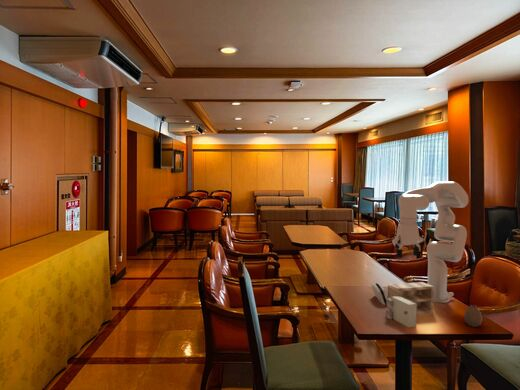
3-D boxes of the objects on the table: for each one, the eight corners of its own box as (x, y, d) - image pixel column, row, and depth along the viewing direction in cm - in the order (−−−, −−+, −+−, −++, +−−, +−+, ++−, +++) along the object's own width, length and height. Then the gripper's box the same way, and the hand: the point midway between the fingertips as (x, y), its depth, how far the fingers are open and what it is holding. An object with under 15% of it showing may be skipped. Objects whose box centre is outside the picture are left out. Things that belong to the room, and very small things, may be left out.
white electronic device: (392, 305, 195) (386, 287, 195) (383, 308, 195) (377, 289, 195) (384, 296, 212) (378, 279, 212) (375, 298, 212) (370, 281, 212)
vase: (481, 329, 165) (482, 309, 164) (463, 325, 168) (464, 306, 168) (482, 324, 170) (482, 305, 170) (464, 321, 174) (465, 302, 174)
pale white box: (398, 317, 178) (399, 296, 177) (415, 326, 166) (416, 303, 166) (389, 318, 176) (390, 296, 176) (406, 327, 165) (407, 304, 164)
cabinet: (421, 307, 193) (422, 282, 192) (437, 315, 182) (438, 288, 181) (376, 311, 185) (376, 284, 185) (390, 319, 174) (391, 291, 174)
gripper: (417, 219, 190) (417, 253, 191) (388, 221, 185) (387, 256, 186) (428, 221, 183) (428, 256, 184) (398, 223, 178) (397, 259, 179)
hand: (407, 256), depth 185 cm, fingers open, 9 cm apart
